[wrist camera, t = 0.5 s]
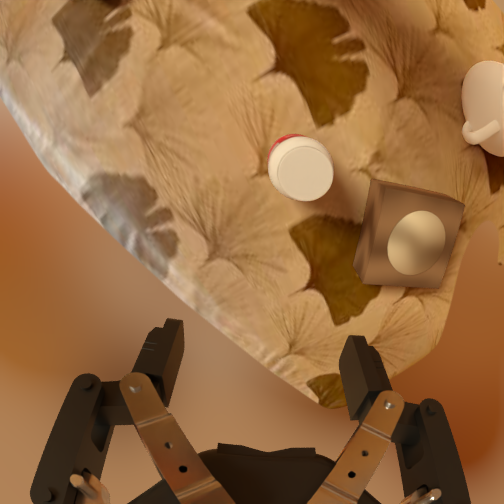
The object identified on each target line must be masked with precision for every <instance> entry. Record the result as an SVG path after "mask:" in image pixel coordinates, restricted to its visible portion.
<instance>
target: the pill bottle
mask: <svg viewBox="0 0 504 504" xmlns="http://www.w3.org/2000/svg"><path fill="white" fill-rule="evenodd" d="M268 172H269V177H270V180H271V182H272V184H273V185H274V187H275V188H276V189H277V190H278V191H279V192H280V193H281V194H282V195H284V196H286V197H288V198H290V199H293V200H298V201H313V200H316V199H318V198H320V197H322V196H323V195H324V194H325V193H326V192H327V191H328V190H329V188H330V186H331V184H332V181H333V174H334V164H333V160H332V157H331V155H330V153H329V151H328V150H327V149H326V148H325V147H324V146H323V145H322V144H321V143H320V142H318V141H317V140H315V139H312V138H309V137H306V136H303V135H299V134H289V135H285V136H282V137H280V138H279V139H278V140H276V141H275V142H274V143H273V145H272V146H271V148H270V150H269V154H268Z"/></svg>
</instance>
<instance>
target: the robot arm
mask: <svg viewBox="0 0 504 504" xmlns="http://www.w3.org/2000/svg"><path fill="white" fill-rule="evenodd" d="M183 353H184V328H183V321H182V320H177V319H169V318H167V319H166V322H165V324H164V327H163V328H159V327H155V328H154V329H153V330H152V331H151V332H149V333H148V336H147V338H146V340H145V343H144V344H143V347H142V349H141V351H140V354H139V356H138V358H137V360H136V363H135V365H134V368H133V370H132V372H131V373H129V374H127V375H126V376H124V377H123V378H122V379H121V380H120V381H113V382H112V381H110V382H101V381H100V379H99V378H98V377H97V376H95V375H93V374H82V375H79V376H78V377H77V378H76V379H75V380H74V381H73V383H72V385H71V387H70V390H69V392H68V394H67V396H66V398H65V400H64V403H63V405H62V407H61V409H60V412H59V414H58V417H57V419H56V421H55V424H54V426H53V429H52V431H51V434H50V436H49V439H48V441H47V444H46V446H45V449H44V451H43V454H42V457H41V460H40V462H39V465H38V468H37V471H36V474H35V477H34V480H33V483H32V486H31V490H30V497H31V500H32V502H33V503H34V504H110V494H109V492H108V490H107V488H106V487H105V486H104V485H103V484H102V483H101V482H100V478H101V474H102V470H103V466H104V462H105V459H106V455H107V451H108V448H109V444H110V441H111V437H112V434H113V430H114V427H115V425H134V426H135V428H136V430H137V432H138V434H139V436H140V438H141V440H142V442H143V444H144V446H145V448H146V450H147V452H148V454H149V456H150V458H151V460H152V462H153V464H154V465H155V468H156V469H157V471H158V473H159V475H160V476H161V478H162V480H161V481H159V482H158V483H157V484H155V485H154V486H152V487H151V488H150V489H148V490H147V491H145V492H144V493H142V494H141V495H140V496H138V497H137V498H135V499H134V500H132V501H131V502H129V503H128V504H381V503H380V502H379V501H378V500H376V499H375V498H374V497H373V496H372V495H371V494H369V493H368V492H367V491H366V490H365V488H366V486H367V484H368V482H369V481H370V479H371V477H372V476H373V474H374V472H375V470H376V468H377V467H378V465H379V463H380V461H381V459H382V458H383V456H384V454H385V452H386V450H387V448H388V446H389V444H390V442H394V443H395V445H396V450H397V455H398V460H399V466H400V471H401V477H402V483H403V490H404V497H405V498H404V499H403V500H402V501H401V503H400V504H471V501H470V497H469V492H468V488H467V484H466V480H465V476H464V472H463V469H462V465H461V461H460V458H459V455H458V451H457V448H456V445H455V442H454V439H453V435H452V432H451V429H450V426H449V423H448V420H447V417H446V415H445V412H444V409H443V407H442V405H441V404H440V403H439V402H438V401H436V400H434V399H425V400H423V401H422V402H421V403H420V405H418V404H413V403H407V402H404V400H403V398H402V397H401V396H400V395H399V394H398V393H396V392H394V391H393V390H392V387H391V385H390V382H389V379H388V376H387V373H386V371H385V369H384V365H383V363H382V360H381V357H380V355H379V353H378V351H377V350H376V349H375V348H374V347H373V346H368V344H367V341H366V339H365V337H364V336H355V335H349V336H348V338H347V341H346V343H345V346H344V348H343V351H342V353H341V356H340V359H339V370H340V374H341V378H342V383H343V387H344V392H345V396H346V401H347V406H348V410H349V415H350V420H359V425H358V427H357V429H356V430H355V432H354V433H353V435H352V436H351V438H350V439H349V441H348V443H347V444H346V445H345V447H344V449H343V450H342V451H341V453H340V454H339V456H338V457H337V458H336V460H335V461H333V460H331V459H329V458H327V457H325V456H322V455H319V454H316V452H315V448H289V449H284V450H279V451H274V452H263V451H259V450H256V449H252V448H249V447H245V446H242V445H231V444H222V443H218V447H217V449H212V450H207V451H204V452H201V453H198V454H197V453H196V452H195V450H194V448H193V447H192V445H191V444H190V442H189V441H188V439H187V438H186V436H185V435H184V433H183V431H182V430H181V428H180V426H179V425H178V423H177V422H176V420H175V418H174V417H173V415H172V414H169V413H168V411H167V410H166V408H165V407H168V406H169V403H170V399H171V396H172V392H173V389H174V385H175V381H176V378H177V374H178V371H179V367H180V364H181V361H182V357H183Z"/></svg>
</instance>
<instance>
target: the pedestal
mask: <svg viewBox="0 0 504 504" xmlns="http://www.w3.org/2000/svg"><path fill="white" fill-rule="evenodd" d="M464 207H465V205H464V204H463V203H461V202H459V201H457V200H455V199H453V198H451V197H450V196H448V195H446V194H442V193H438V192H433V191H429V190H424V189H420V188H415V187H411V186H406V185H401V184H396V183H391V182H386V181H380V180H375V179H371V182H370V188H369V193H368V199H367V204H366V209H365V214H364V219H363V223H362V228H361V233H360V237H359V242H358V246H357V250H356V254H355V259H354V263H353V266H354V268H355V270H356V272H357V274H358V275H359V277H360V279H361V281H362V283H363V284H373V285H388V286H403V287H419V288H437V289H439V287H440V284H441V282H442V279H443V276H444V273H445V271H446V268H447V265H448V262H449V259H450V256H451V253H452V250H453V247H454V243H455V240H456V237H457V233H458V230H459V226H460V223H461V219H462V215H463V211H464Z"/></svg>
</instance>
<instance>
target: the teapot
mask: <svg viewBox="0 0 504 504" xmlns="http://www.w3.org/2000/svg"><path fill="white" fill-rule="evenodd" d="M461 99H462V108H463V113H464V117H465V120H466V122H465V124H464V125H463V128H462V135H463V138H464V139H465V141H466V142H467V143H469V144H473V145H475V144H480V145H481V146H482V148H483V149H485V150H486V151H488V152H489V153H491V154H493V155H496V156H501V157H504V64H502V63H499V62H496V61H482V62H479V63H476V64H475V65H474V66H472V67H471V68H470V70H469V71H468V72H467V74H466V76H465V78H464V81H463V86H462V95H461Z"/></svg>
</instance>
